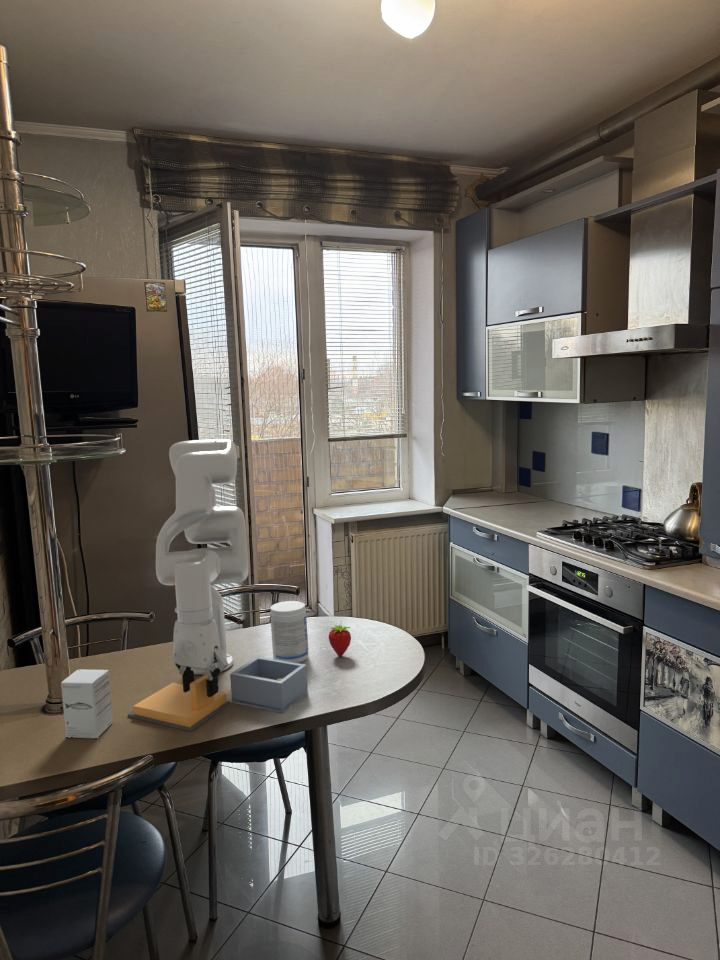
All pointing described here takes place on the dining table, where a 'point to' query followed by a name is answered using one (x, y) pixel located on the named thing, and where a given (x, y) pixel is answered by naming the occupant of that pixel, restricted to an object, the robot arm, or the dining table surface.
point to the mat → (177, 724)
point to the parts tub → (269, 684)
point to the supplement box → (87, 703)
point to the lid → (180, 703)
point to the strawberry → (339, 639)
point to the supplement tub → (289, 631)
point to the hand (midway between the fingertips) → (200, 691)
